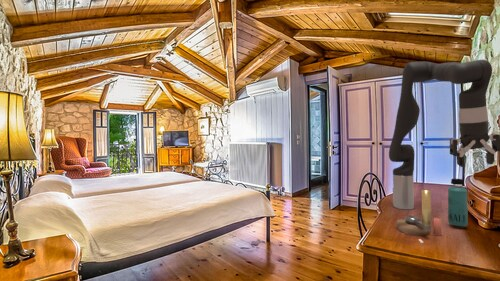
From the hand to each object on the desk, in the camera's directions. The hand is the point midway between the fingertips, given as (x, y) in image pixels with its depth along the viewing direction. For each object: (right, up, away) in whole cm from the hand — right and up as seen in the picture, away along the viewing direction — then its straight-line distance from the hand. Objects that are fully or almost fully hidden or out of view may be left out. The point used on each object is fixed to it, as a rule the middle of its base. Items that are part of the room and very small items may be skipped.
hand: (475, 165), depth 90 cm
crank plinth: (-15, -27, +12) cm, 33 cm away
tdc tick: (-18, -28, +2) cm, 33 cm away
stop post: (-8, -27, +7) cm, 29 cm away
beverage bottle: (+5, -27, +14) cm, 31 cm away
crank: (-15, -24, +8) cm, 30 cm away
